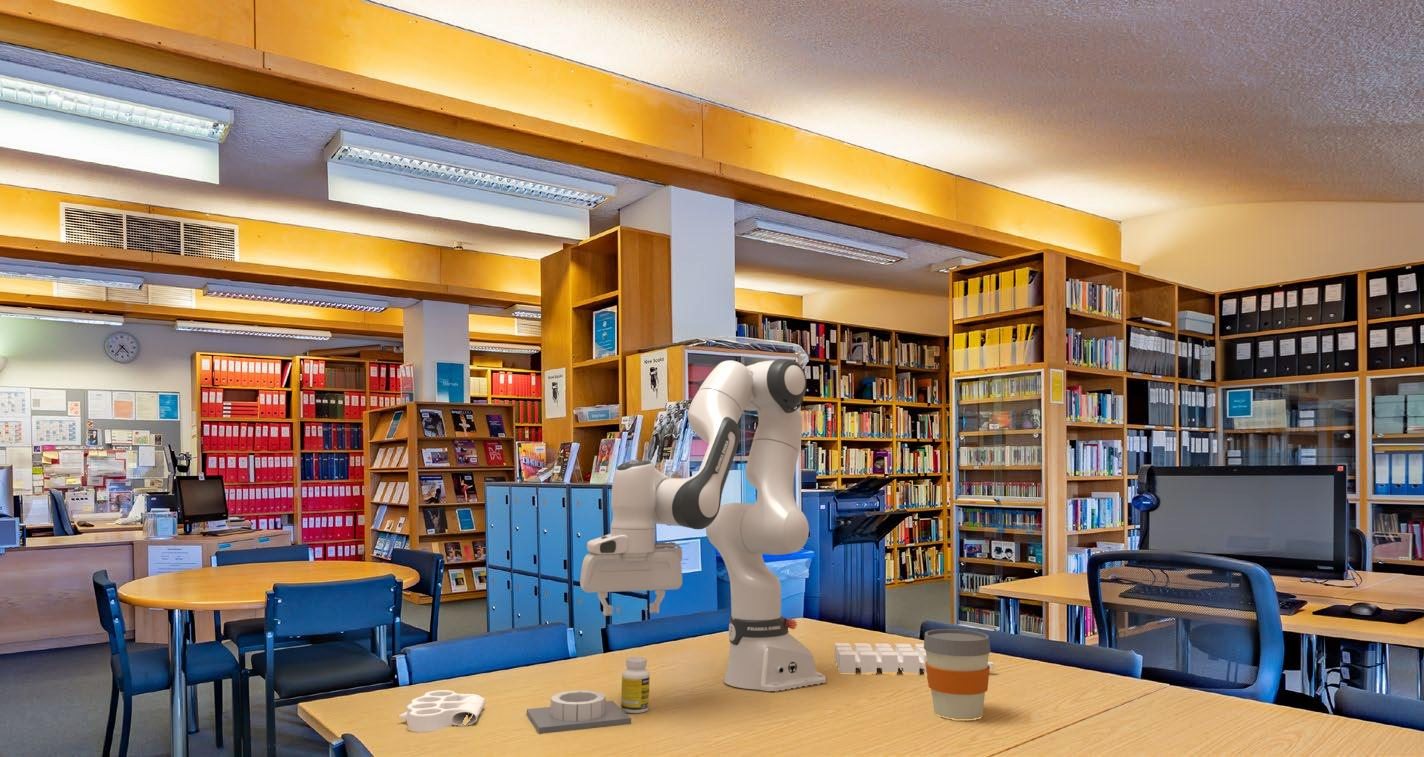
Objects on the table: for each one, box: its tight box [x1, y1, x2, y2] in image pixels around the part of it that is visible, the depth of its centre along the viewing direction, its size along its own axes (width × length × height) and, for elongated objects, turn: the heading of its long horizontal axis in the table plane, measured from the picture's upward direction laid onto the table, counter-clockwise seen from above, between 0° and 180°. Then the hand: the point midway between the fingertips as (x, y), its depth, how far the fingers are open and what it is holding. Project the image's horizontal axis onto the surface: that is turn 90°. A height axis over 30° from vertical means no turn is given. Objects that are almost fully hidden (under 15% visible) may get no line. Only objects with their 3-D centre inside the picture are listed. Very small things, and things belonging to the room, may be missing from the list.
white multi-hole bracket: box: [397, 689, 486, 733], centre depth 170 cm, size 3×18×15 cm
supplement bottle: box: [620, 656, 651, 714], centre depth 176 cm, size 5×5×10 cm
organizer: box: [834, 642, 994, 674], centre depth 211 cm, size 13×5×35 cm
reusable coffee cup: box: [923, 628, 992, 719], centre depth 174 cm, size 13×13×15 cm
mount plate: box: [526, 689, 632, 734], centre depth 170 cm, size 17×13×4 cm
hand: (631, 614), depth 177 cm, fingers open, 8 cm apart
